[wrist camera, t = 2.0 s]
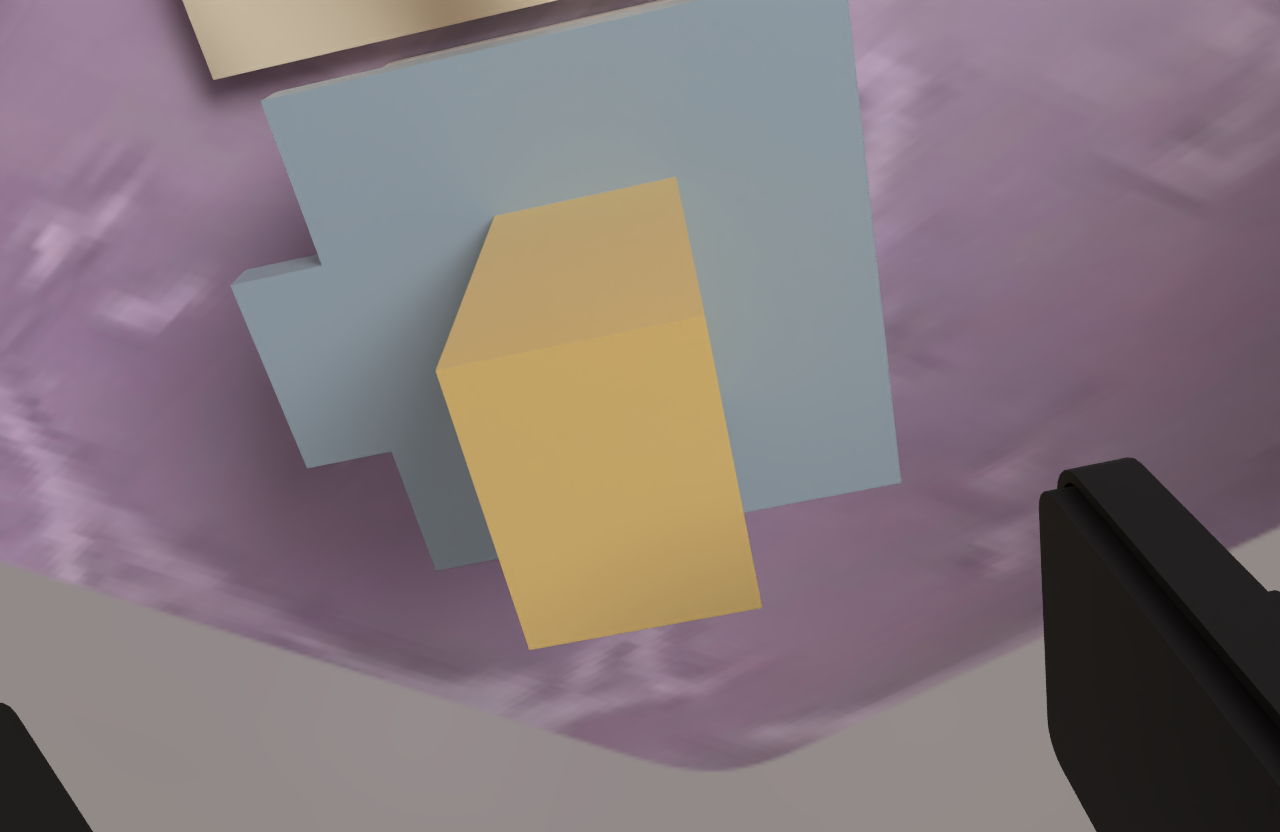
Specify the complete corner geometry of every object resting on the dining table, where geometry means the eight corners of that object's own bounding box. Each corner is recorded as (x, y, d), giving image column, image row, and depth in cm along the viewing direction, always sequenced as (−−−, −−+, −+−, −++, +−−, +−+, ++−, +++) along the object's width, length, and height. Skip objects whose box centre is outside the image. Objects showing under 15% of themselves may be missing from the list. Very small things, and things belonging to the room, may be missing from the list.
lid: (834, -37, 16) (971, 7, 10) (891, 461, 20) (1012, 713, 14) (181, 113, 16) (-72, 242, 10) (365, 561, 20) (259, 841, 14)
